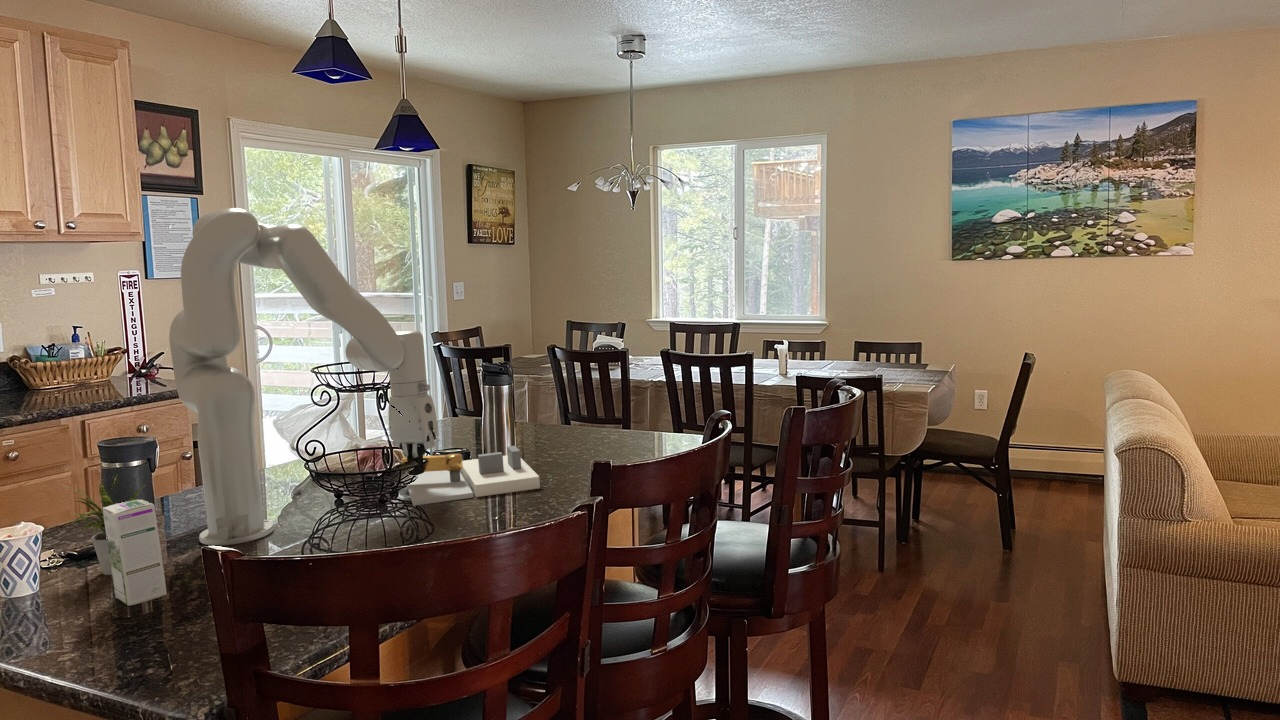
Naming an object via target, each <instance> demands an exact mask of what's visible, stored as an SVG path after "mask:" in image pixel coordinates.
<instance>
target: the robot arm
mask: <svg viewBox="0 0 1280 720" xmlns="http://www.w3.org/2000/svg"><path fill="white" fill-rule="evenodd" d="M191 234H192V238H191V240H189V241H190V242H189V243H188V245H187V247H186V249H185V251H184V254H183V257H182V261H181V266H180V284H181V297H182V298H181V299H182V307H183V309H181V311H179V312H178V313H177V314H176V315H175V316H174V318H173V320H172V322H171V324H170V326H169V335H168V336H169V337H168V338H169V346H170V347H169V348H170V355H171V361H172V368H173V375H174V383H175V387H176V392H177V395H178V399H180V402H181V403H182V404H183V405H184V406H185V407H186V408H187V409H189V410H190V411H191V412H194V413H197V415H198V416H197V446H198V456H199V461H200V462H199V464H200V469H201V470H200V471H201V479H202V486H203V487H202V488H203V490H202V491H203V499H204V506H205V514H206V524H207V528H206V529H205V530H203V531H201V532H200V533H199V536H198V539H199V543H201V544H202V545H207V546H212V545H219V546H230V545H231V546H233V545H237V544H244V543H248V542H251V541H256V540H258V539H261V538H264V537H266V536H268V535H270V534H272V533H273V531H274V530H275V524H274V522H273V521H271V520H269V519H265V517H264V516H265V515H264V507H263V496H262V489H261V488H262V486H261V478H260V470H259V459H258V450H257V442H256V430H255V409H256V408H255V407H256V396H255V395H256V394H255V389H254V385H253V383H252V381H251V380H250V378H249V377H248V376H247V375H246V374H245V373H244V371H241V370H240V369H237V368H235V367H232V366H229V365H228V360H227V357H229V356H230V355H231V354H233V353H234V352H235V351H236V350H237V349H238V347H239V345H240V342H241V328H240V321H239V315H238V306H237V301H236V294H235V293H236V292H235V271H236V268H237V265H238V264H244V265H247V266H253V267H259V268H264V269H265V268H266V269H271V270H282V271H283V272H284V274H285V275H286V277H287V278H288V279H289V280H290V282H291V283H292V284H293V286H294V287H295V288H296V289H297V291H298V292H299V294H300V295H301V296H302V297H303V299H304V301H306V303H307V304H308V306H310V308H311V309H312V310H313V311H315V313H318V314H319V315H320V316H322V317H323V318H325V319H328V320H329V321H331V322H333V323H335V324H337V326H340V327H341V328H342V329H344V330H345V331H346V332H347V333H348V334H349V335H350V336H351V337H352V338H351V339H350V340H348V342H347V344H346V347H345V357H346V359H347V361H348V362H349V364H351V365H352V366H353V367H355V368H357V369H359V370H363V371H374V372H381V373H388V375H389V376H388V377H389V386H390V396H389V400H388V430H389V437H390V440H392V445H393V446H394V447H396V448H399V449H400V450H402V452H403V455H404V456H403V457H407V462H409V461H416V462H417V463H418V466H417V467H416V468H415V469H413V470H411V471H409V472H408V473H407V474H408V475H410V476H412V475H413V476H417V475H419V474H422V473H424V464H422V463H423V456H425V454H426V452H427V450H429V449H432V448H436V442H435V440H437V439H438V438H439V425H438V419H437V417H438V416H437V411H436V408H435V403H434V399H433V397H432V395H431V394H428V393H429V392H430V390H431V385H430V384H428V380H427V379H428V378H427V367H426V358H425V357H426V355H425V345H424V336H423V334H422V332H420V331H419V330H412V329H410V330H398V331H395V329H394V328H393V326H391V323H390V322H389V321H388V319H386V317H385V316H384V315H383V314H382V312H381V311H380V310H378V309H377V308H376V307H375V305H373V304H372V303H371V302H370V301H368V299H366V298H365V297H364V296H363V294H361V293H360V292H359V291H358V290H357V289H355V287H353V286H352V285H351V284H350V283H349V281H348V280H347V279H346V278H345V277H344V275H343V274H342V272H341V271H340V270H339V269H338V267H337V265H336V264H335V262H334V261H333V259H331V257H330V256H329V254H328V253H327V252H326V250H325V249H324V247H323V246H322V245H321V244H320V242H319V241H318V239H317V238H316V237H315V235H314V234H313V233H312V232H311V231H310V230H309V229H308V228H307V227H305V226H303V225H302V224H301V225H300V224H297V223H296V224H295V223H292V224H291V223H289V224H279V225H270V224H264V223H261V222H259V221H258V219H257V218H256V217H255V215H254V214H252V213H251V212H250V211H248V210H246V209H244V208H239V207H231V208H224V209H223V208H222V209H220V210H216V211H215V210H214V211H211V212H208V213H205V214H203V215H201V216H200V217H199V218H198V219H197V220H196V221H195V223H194V224H193V228H192V233H191ZM417 362H418V363H417ZM397 368H398V369H397ZM391 405H392V406H394V407H395V408H393V407H392V406H391ZM396 409H397V410H396ZM398 411H400V413H401V414H402V415H403V416H401V415H400V413H399V412H398ZM409 421H410V422H409Z"/></svg>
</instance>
